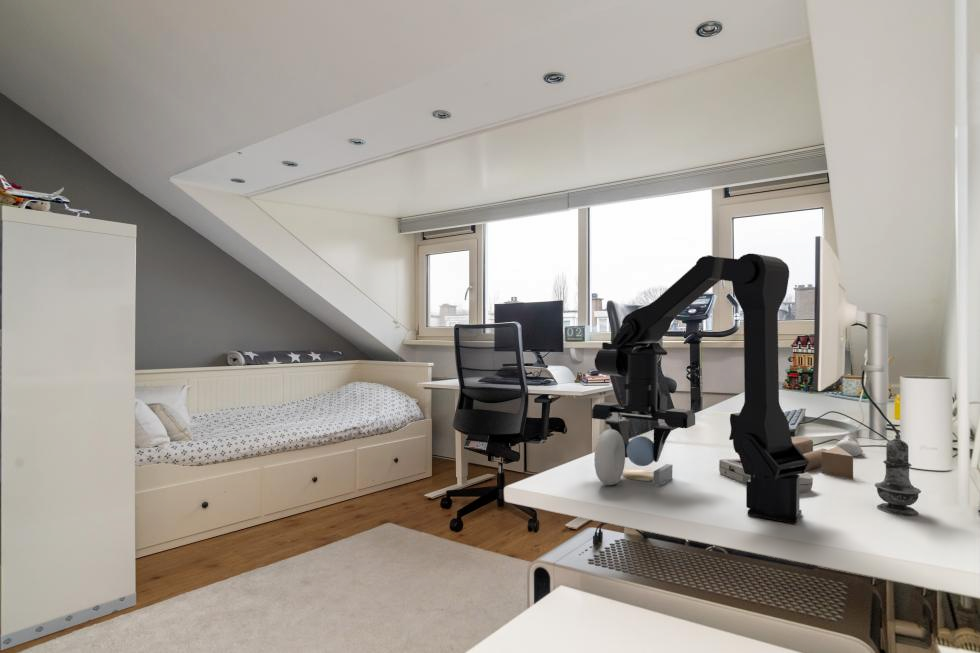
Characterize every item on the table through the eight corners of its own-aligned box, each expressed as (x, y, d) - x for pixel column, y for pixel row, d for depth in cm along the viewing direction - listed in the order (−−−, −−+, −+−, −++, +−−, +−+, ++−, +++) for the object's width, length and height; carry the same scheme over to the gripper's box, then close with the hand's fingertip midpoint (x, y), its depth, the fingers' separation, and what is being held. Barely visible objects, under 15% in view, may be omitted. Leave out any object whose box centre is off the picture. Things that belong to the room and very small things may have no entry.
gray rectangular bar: (672, 477, 103) (672, 464, 103) (658, 486, 97) (659, 472, 97) (667, 477, 104) (667, 464, 104) (653, 485, 98) (653, 471, 98)
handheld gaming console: (772, 476, 93) (718, 457, 108) (772, 497, 93) (717, 475, 108) (818, 474, 95) (758, 455, 110) (818, 494, 95) (758, 473, 110)
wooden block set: (761, 439, 117) (796, 431, 128) (761, 465, 117) (796, 455, 128) (851, 452, 104) (881, 442, 115) (851, 482, 104) (881, 469, 115)
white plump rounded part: (609, 477, 103) (610, 424, 103) (627, 480, 101) (628, 426, 102) (591, 489, 95) (591, 432, 95) (610, 492, 93) (610, 434, 93)
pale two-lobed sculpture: (856, 463, 124) (831, 453, 127) (863, 457, 129) (839, 447, 133) (863, 446, 123) (838, 436, 126) (870, 441, 128) (845, 431, 132)
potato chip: (665, 475, 105) (665, 473, 105) (652, 483, 100) (652, 481, 100) (630, 469, 109) (630, 468, 109) (616, 476, 104) (616, 475, 104)
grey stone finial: (908, 506, 88) (908, 431, 88) (929, 518, 82) (929, 438, 82) (867, 503, 89) (867, 429, 89) (885, 514, 83) (885, 436, 83)
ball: (650, 470, 101) (650, 440, 101) (621, 466, 104) (622, 436, 104) (660, 465, 105) (660, 436, 105) (632, 461, 108) (633, 432, 109)
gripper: (703, 378, 106) (703, 459, 105) (613, 373, 117) (613, 446, 117) (686, 382, 97) (685, 470, 96) (590, 376, 108) (589, 455, 108)
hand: (641, 459), depth 104 cm, fingers closed on ball, 5 cm apart
